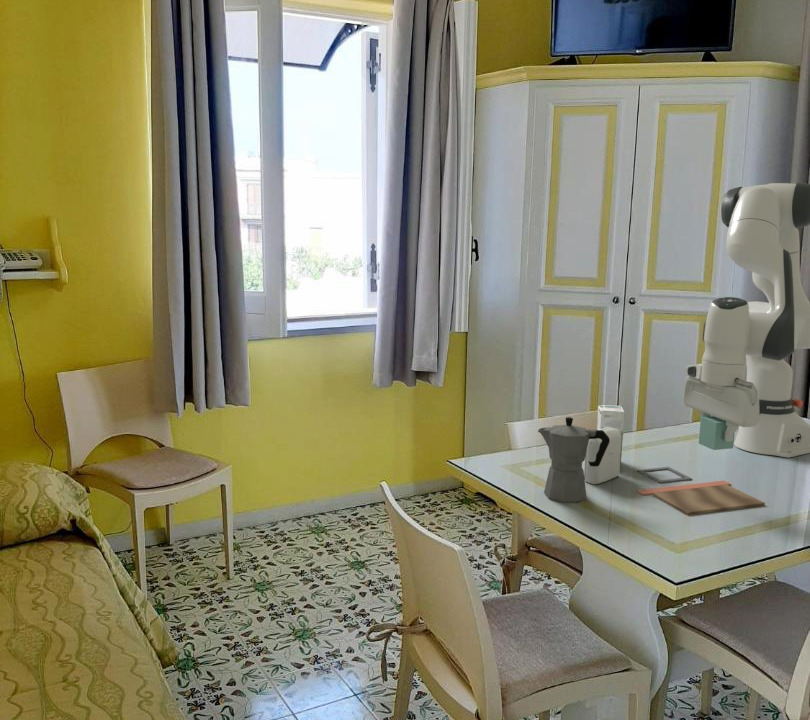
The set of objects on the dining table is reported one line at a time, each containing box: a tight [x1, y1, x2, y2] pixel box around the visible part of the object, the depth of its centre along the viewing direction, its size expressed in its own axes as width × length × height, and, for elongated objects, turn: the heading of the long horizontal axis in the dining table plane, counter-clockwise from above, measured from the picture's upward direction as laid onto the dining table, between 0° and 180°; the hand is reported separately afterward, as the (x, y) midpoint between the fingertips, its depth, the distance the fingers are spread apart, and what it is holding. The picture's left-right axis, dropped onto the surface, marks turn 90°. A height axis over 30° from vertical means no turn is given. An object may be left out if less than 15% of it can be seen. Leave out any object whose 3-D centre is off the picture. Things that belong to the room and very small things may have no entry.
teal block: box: [698, 415, 736, 451], centre depth 173 cm, size 5×5×6 cm
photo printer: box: [584, 427, 621, 485], centre depth 188 cm, size 10×4×12 cm, turn 132°
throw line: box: [636, 480, 732, 496], centre depth 183 cm, size 24×2×1 cm, turn 108°
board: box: [652, 485, 766, 516], centre depth 176 cm, size 20×12×1 cm, turn 108°
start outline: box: [636, 466, 693, 484], centre depth 192 cm, size 9×9×1 cm
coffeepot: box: [537, 416, 610, 504], centre depth 176 cm, size 15×9×18 cm, turn 75°
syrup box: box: [596, 404, 626, 467], centre depth 199 cm, size 6×6×14 cm
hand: (716, 436), depth 173 cm, fingers closed on teal block, 5 cm apart
